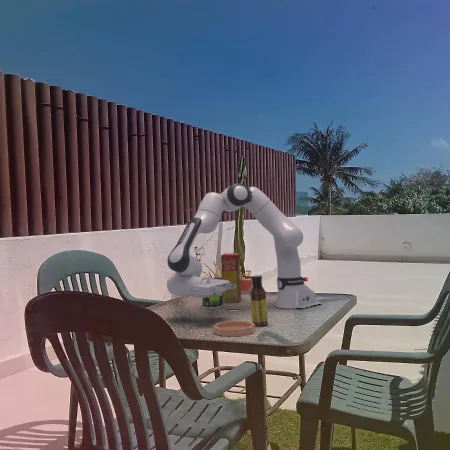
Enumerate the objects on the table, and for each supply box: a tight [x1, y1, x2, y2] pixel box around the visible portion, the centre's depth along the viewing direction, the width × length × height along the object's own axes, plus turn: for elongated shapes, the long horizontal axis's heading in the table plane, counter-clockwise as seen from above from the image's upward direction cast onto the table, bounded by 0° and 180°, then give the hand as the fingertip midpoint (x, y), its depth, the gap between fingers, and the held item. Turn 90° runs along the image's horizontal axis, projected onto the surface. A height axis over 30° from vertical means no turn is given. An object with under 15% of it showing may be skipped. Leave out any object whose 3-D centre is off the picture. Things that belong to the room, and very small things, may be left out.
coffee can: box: [201, 277, 224, 310], centre depth 240 cm, size 10×10×14 cm
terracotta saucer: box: [212, 320, 256, 337], centre depth 184 cm, size 15×15×2 cm
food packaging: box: [220, 252, 242, 304], centre depth 256 cm, size 13×9×25 cm
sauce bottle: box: [250, 274, 269, 327], centre depth 194 cm, size 6×6×20 cm
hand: (230, 288), depth 200 cm, fingers open, 8 cm apart
